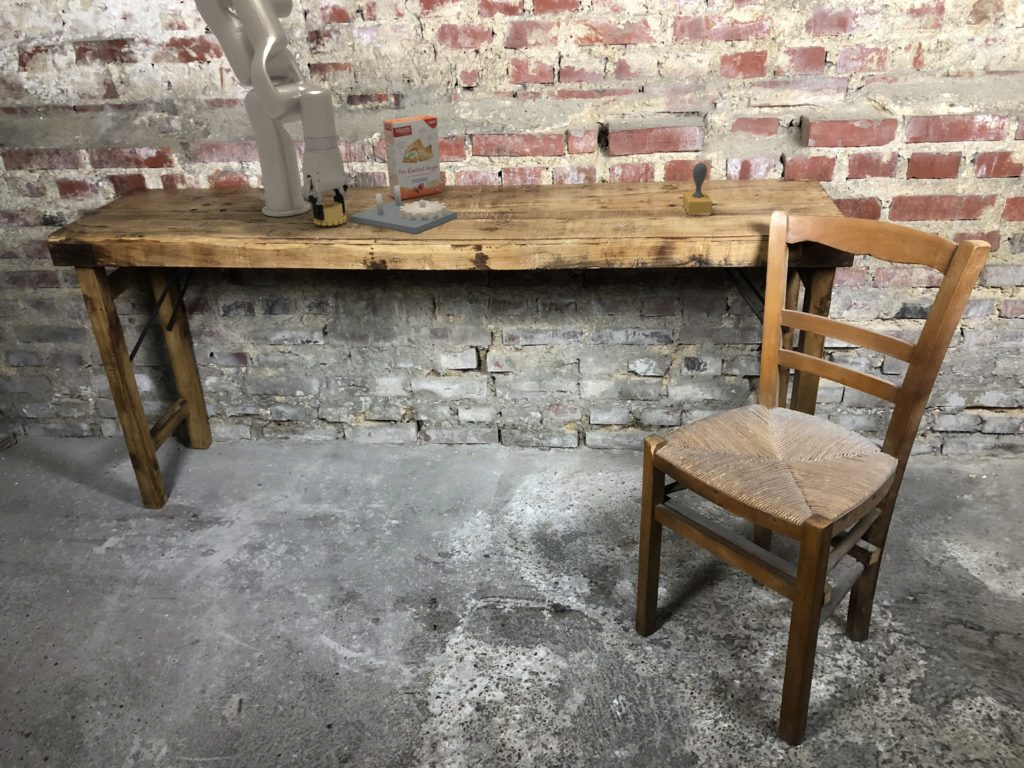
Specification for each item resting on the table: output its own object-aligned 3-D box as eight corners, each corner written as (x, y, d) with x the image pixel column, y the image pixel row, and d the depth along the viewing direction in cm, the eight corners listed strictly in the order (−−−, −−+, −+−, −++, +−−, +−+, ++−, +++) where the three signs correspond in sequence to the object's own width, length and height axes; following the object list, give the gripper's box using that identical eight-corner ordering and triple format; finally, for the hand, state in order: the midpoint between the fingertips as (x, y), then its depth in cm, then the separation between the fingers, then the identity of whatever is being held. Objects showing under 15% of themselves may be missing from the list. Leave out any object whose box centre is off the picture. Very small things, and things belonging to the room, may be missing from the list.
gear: (307, 222, 191) (305, 206, 189) (331, 214, 197) (329, 199, 195) (330, 227, 187) (328, 211, 186) (353, 219, 193) (351, 204, 191)
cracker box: (400, 201, 210) (392, 122, 201) (389, 197, 215) (381, 120, 205) (443, 192, 218) (437, 116, 208) (432, 188, 222) (426, 113, 212)
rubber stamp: (711, 216, 189) (716, 167, 183) (687, 216, 189) (691, 167, 184) (704, 205, 198) (708, 158, 192) (682, 205, 198) (685, 158, 192)
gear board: (350, 221, 194) (347, 196, 191) (393, 206, 205) (390, 182, 202) (415, 234, 183) (413, 207, 180) (457, 217, 194) (455, 192, 191)
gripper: (336, 134, 191) (344, 205, 200) (282, 147, 179) (293, 222, 187) (357, 138, 187) (365, 210, 196) (304, 151, 175) (314, 227, 184)
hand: (329, 215), depth 192 cm, fingers closed on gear, 6 cm apart
